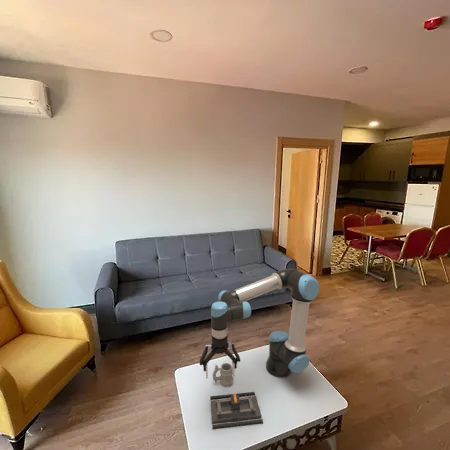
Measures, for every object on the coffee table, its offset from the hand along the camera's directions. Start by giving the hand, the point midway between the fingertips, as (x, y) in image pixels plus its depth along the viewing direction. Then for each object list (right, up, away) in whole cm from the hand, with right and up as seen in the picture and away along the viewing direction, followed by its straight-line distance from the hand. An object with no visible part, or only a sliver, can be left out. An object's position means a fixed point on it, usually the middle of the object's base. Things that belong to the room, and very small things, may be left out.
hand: (220, 375), depth 126 cm
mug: (+1, -17, +22) cm, 28 cm away
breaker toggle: (+7, -18, +4) cm, 20 cm away
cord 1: (+6, -19, +12) cm, 23 cm away
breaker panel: (+7, -20, +4) cm, 22 cm away
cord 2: (+8, -21, -4) cm, 23 cm away
